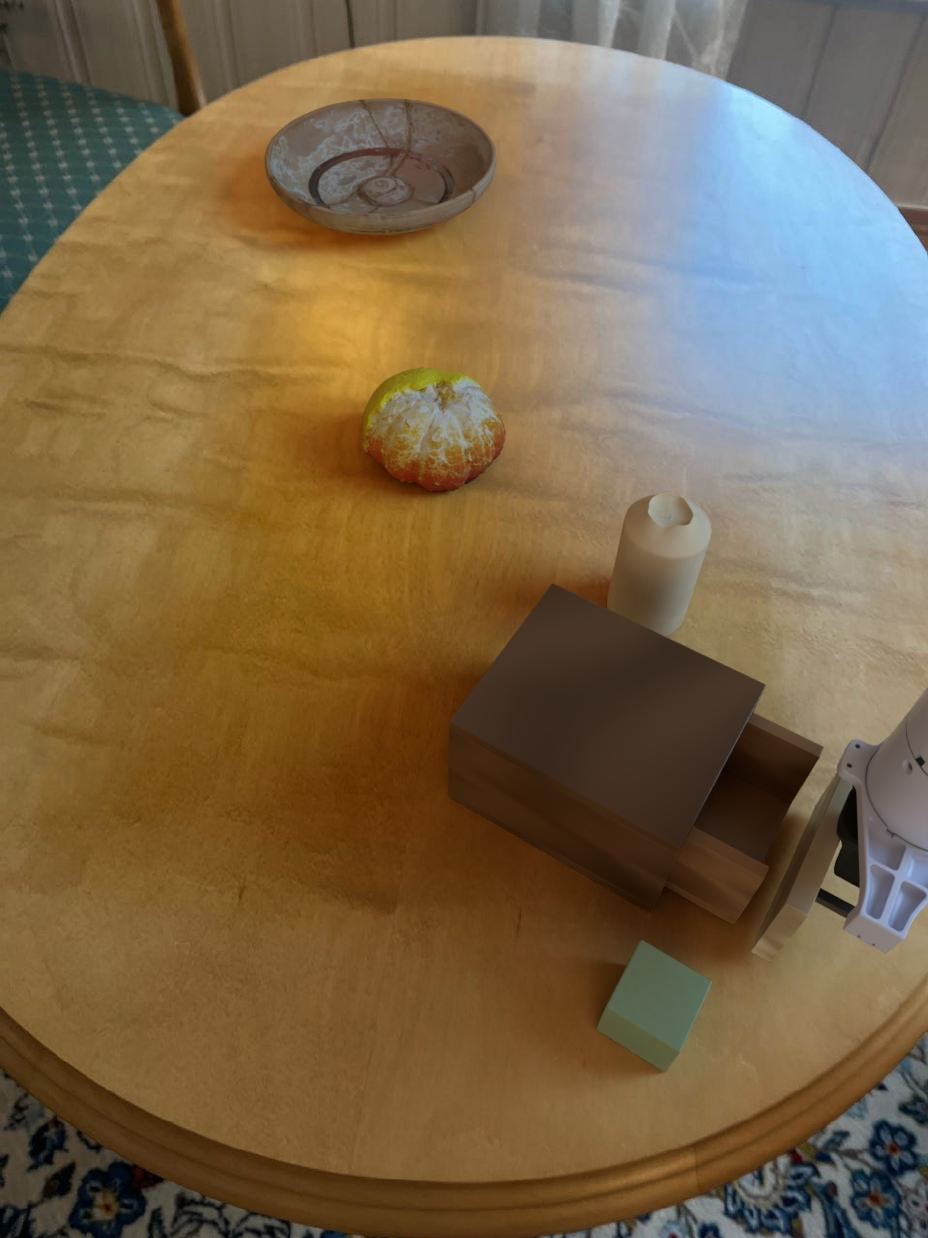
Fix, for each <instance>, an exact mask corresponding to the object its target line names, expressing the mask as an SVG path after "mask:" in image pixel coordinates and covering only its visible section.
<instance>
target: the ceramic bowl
mask: <svg viewBox="0 0 928 1238" xmlns="http://www.w3.org/2000/svg"><path fill="white" fill-rule="evenodd" d="M496 168H497V149H496V146H495V144H494V142H493V140H492V138H491V137H490V135H489V134H488V133H487V131H486V130H485V129H484V128H483V127H482V126H481V125H480V124H478V123H477V122H476V121H474V120H473V119H472V118H470V117H469V116H467V115H465V114H463V113H461V112H459V111H457V110H454V109H452V108H449V107H447V106H445V105H441V104H437V103H432V102H430V101H424V100H417V99H407V98H391V97H389V98H387V97H384V98H383V97H381V98H378V97H377V98H364V99H363V98H362V99H355V100H354V99H353V100H348V101H347V100H346V101H343V102H337V103H332V104H329V105H325V106H322V107H320V108H317V109H314V110H312V111H311V110H310V111H309V112H307V113H304V114H302V115H301V116H299V117H296V118H295V119H293V120H290V122H288V123H287V124H285V125H284V126H283V127H281V129H280V130H278V131H277V132H276V133H275V134H274V135H273V136H272V138H271V139H270V141H269V143H268V144H267V146H266V150H265V154H264V170H265V174H266V179H267V181H268V183H269V186H270V187H271V188H272V189H273V191H274V192H275V194H276V195H277V196H278V197H279V199H281V201H282V202H283V203H284V204H285V205H286V206H287V207H289V208H290V209H291V210H292V211H294V212H295V213H297V214H298V215H300V216H301V217H303V218H305V219H306V220H308V221H310V222H312V223H315V224H316V225H319V226H320V227H321V226H322V227H324V228H328V229H331V230H334V231H338V232H343V233H347V234H348V233H349V234H356V235H363V236H364V235H365V236H366V235H367V236H369V235H370V236H391V235H392V236H393V235H401V234H408V233H414V232H418V231H421V230H426V229H429V228H432V227H433V228H434V227H435V226H438V225H440V224H444V223H446V222H447V221H450V220H452V219H454V218H456V217H458V216H459V215H461V214H462V213H464V212H465V211H467V210H469V208H471V207H472V205H474V204H475V203H476V202H477V201H478V200H479V199H480V198H481V197H482V196H483V195H484V193H485V192H486V191H487V190H488V188H489V186H491V184H492V181H493V179H494V176H495V173H496Z"/></svg>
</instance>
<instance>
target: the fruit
mask: <svg viewBox="0 0 928 1238" xmlns="http://www.w3.org/2000/svg"><path fill="white" fill-rule="evenodd" d="M506 433H507V432H506V426H505V424H504V421H503V418H502V414H501V412H500V411H499V409H498V408H497V407H496V406H495V403H494V401H493V399H492V398H491V397H490V394H489V393H488V392H487V391H485V389H484V388H483V385H481V384H480V383H479V382H478V381H477V380H475V379H474V378H472V377H470V376H469V375H466V374H464V373H462V372H457V371H451V370H450V371H447V370H441V369H436V368H433V367H424V366H421V367H413V368H411V369H407V370H404V371H401V372H398V373H395V374H394V375H391V376H390V377H388V378H387V379H385V380H383V382H382V383H380V384H379V385H378V387H377V388H376V389H375V390H374V391H373V393H372V395H370V398H369V399H368V402H367V404H366V406H365V409H364V411H363V414H362V419H361V437H360V438H361V445H362V450H363V452H364V454H366V455H368V456H370V457H372V458H373V459H374V461H375V462H377V463H378V464H379V465H381V466H383V467H384V469H385V470H386V471H387V472H388V473H389V474H390V475H391V476H392V477H393V478H394V479H397V480H398V481H400V483H408V484H410V483H411V484H412V483H416V484H418V485H420V486H421V487H422V488H424V490H426V491H429V492H432V493H433V492H434V493H435V494H437V493H438V492H442V491H444V492H448V491H452V492H454V491H456V490H459V488H460V487H463V486H464V485H465V484H466V485H467V484H469V483H471V482H473V481H475V480H476V479H477V478H478V477H479V476H480V475H482V474H484V473H486V470H487V469H488V468H490V466H491V465H492V464H493V463H494V461H495V460H496V459H497V458H498V457H500V455H501V453H502V451H503V449H504V447H505V446H504V444H505V441H506Z"/></svg>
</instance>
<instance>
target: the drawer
mask: <svg viewBox="0 0 928 1238" xmlns="http://www.w3.org/2000/svg"><path fill="white" fill-rule="evenodd" d="M824 749H825V746H823V745H821V744H820V743H817V742H815V741H813V740H811V739H809V738H807V737H805V736H802V735H800V734H798V733H796V732H795V731H793V730H791V729H789V728H786V727H784V726H782V725H780V724H778V723H777V722H776V723H775V722H774V721H771V720H770V719H767V718H766V717H764V716H762V715H759V714H757V713H755V712H754V713H752V715H751V717H750V718H749V720H748V722H747V724H746V726H745V728H744V730H743V732H742V734H741V736H740V737H739V739H738V741H737V743H736V745H735V747H734V749H733V751H732V753H731V755H730V757H729V758H728V760H727V762H726V764H725V766H724V768H723V770H722V772H721V774H720V776H719V778H718V779H717V781H716V783H715V785H714V787H713V789H712V791H711V793H710V795H709V797H708V798H707V800H706V802H705V804H704V806H703V808H702V810H701V812H700V814H699V816H698V818H697V819H696V821H695V823H694V825H693V827H692V829H691V831H690V833H689V835H688V837H687V838H686V840H685V842H684V844H683V846H682V849H681V851H680V853H679V855H678V857H677V860H676V862H675V864H674V866H673V868H672V871H671V873H670V875H669V877H668V879H667V882H666V884H665V888H667V889H668V890H670V891H672V892H674V893H675V894H678V895H679V896H681V897H683V898H684V899H686V900H688V901H690V902H692V903H693V904H695V905H697V906H699V907H700V908H702V909H704V910H706V911H708V912H709V913H711V914H713V915H714V916H717V917H718V918H720V919H722V920H724V921H725V922H727V923H729V924H731V925H732V926H734V925H736V923H737V922H738V920H739V919H740V917H741V916H742V914H743V912H744V911H745V909H746V908H747V907H748V905H749V903H750V902H751V900H752V899H753V897H754V895H756V893H757V891H758V890H759V888H760V887H761V885H762V883H763V882H764V881H765V879H766V876H767V874H768V872H769V870H770V866H768V865H767V864H765V862H766V860H767V857H768V855H769V853H770V851H771V849H772V847H773V845H774V842H775V840H776V838H777V836H778V834H779V831H780V830H781V827H782V825H783V823H784V821H785V819H786V816H787V815H788V812H789V810H790V808H791V805H792V804H793V803H794V801H795V799H796V798H797V796H798V794H799V792H800V791H801V789H802V787H803V786H804V784H805V782H806V781H807V779H808V778H809V776H810V775H811V773H812V771H813V769H814V768H815V766H816V764H817V763H818V761H819V760H820V758H821V756H822V754H823V751H824ZM852 786H853V785H852V784H851V783H849V782H847V781H846V780H844V779H842V778H841V777H840V776H839V775H838V773H837V772H836V773H835V774H834V776H833V777H832V779H831V781H830V782H829V784H828V785H827V787H826V788H825V790H824V791H823V793H822V795H820V798H818V800H817V802H816V803H815V805H814V807H813V810H812V811H811V814H810V816H809V818H808V820H807V823H806V825H805V827H804V829H803V832H802V834H801V836H800V838H799V841H798V843H797V845H796V848H795V850H794V852H793V854H792V856H791V859H790V860H789V863H788V865H787V867H786V870H785V872H784V874H783V876H782V879H781V881H780V883H779V886H778V887H777V890H776V892H775V895H774V897H773V899H772V902H771V904H770V906H769V908H768V910H767V912H766V915H765V917H764V918H763V922H762V924H761V926H760V928H759V930H758V933H757V934H756V937H755V940H754V942H753V944H752V946H751V949H750V952H751V953H753V954H754V955H756V956H758V957H760V958H761V959H763V960H765V961H767V962H769V963H773V961H775V959H776V958H777V956H778V955H779V954H780V952H782V950H783V949H784V948H785V946H786V945H787V944H788V942H790V940H791V939H792V937H793V936H794V935H795V934H796V933H797V931H798V930H799V929H800V928H801V926H802V925H803V924H804V922H805V921H806V920H807V919H808V917H809V916H810V913H811V911H812V909H813V907H814V904H815V903H817V904H818V905H820V906H822V907H824V908H826V909H828V910H829V911H831V912H833V913H835V914H837V915H839V916H840V917H843V918H844V919H846V918H847V916H848V914H849V913H850V911H851V910H852V909H853V908H854V907H856V905H854V904H852V903H850V902H848V901H846V900H844V899H842V898H840V897H838V896H836V895H835V894H833V893H831V892H830V891H827V890H825V889H823V888H821V887H822V886H823V883H824V880H825V878H826V875H827V873H828V871H829V869H830V866H831V864H832V862H833V859H834V856H835V855H836V851H837V849H838V847H839V845H840V842H841V840H840V839H839V837H838V836H837V834H836V832H837V823H838V818H839V815H840V813H841V810H842V808H843V806H844V803H845V801H846V799H847V796H848V794H849V792H850V791H851V789H853V788H852Z"/></svg>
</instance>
